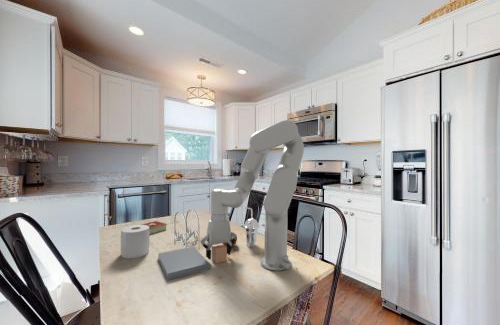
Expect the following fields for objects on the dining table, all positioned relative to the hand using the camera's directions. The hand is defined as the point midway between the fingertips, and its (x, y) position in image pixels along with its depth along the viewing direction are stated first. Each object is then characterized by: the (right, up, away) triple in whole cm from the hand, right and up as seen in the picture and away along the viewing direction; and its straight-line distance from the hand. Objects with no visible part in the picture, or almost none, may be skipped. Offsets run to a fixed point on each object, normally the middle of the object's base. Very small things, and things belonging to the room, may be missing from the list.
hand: (218, 255), depth 98 cm
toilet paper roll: (-40, -1, +6) cm, 40 cm away
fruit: (+3, -2, +16) cm, 16 cm away
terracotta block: (0, -2, 0) cm, 2 cm away
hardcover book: (-49, -1, +36) cm, 61 cm away
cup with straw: (+14, -2, +17) cm, 22 cm away
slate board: (-15, -1, -5) cm, 15 cm away
